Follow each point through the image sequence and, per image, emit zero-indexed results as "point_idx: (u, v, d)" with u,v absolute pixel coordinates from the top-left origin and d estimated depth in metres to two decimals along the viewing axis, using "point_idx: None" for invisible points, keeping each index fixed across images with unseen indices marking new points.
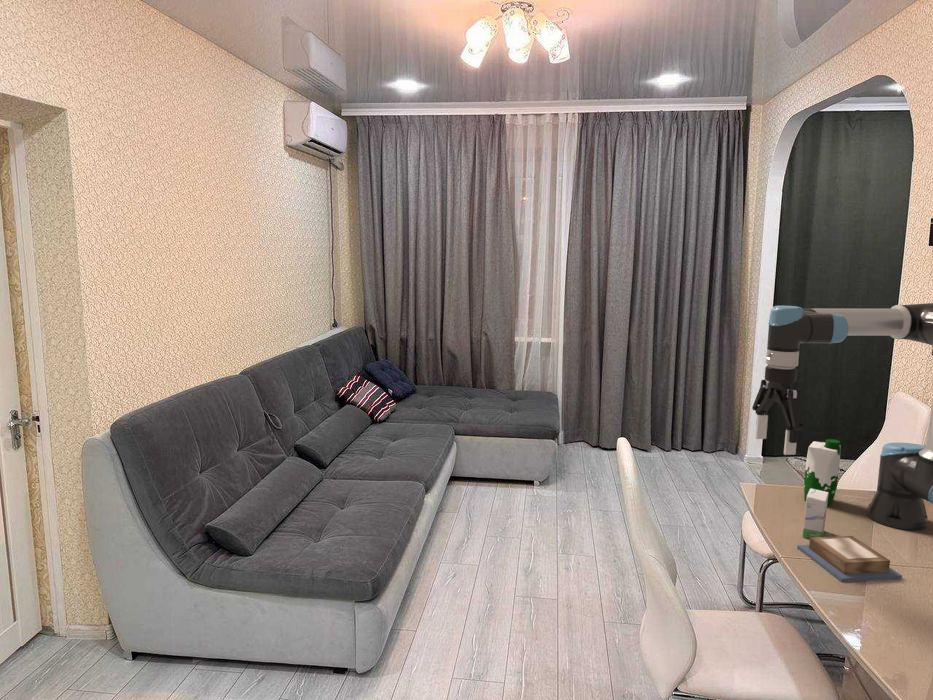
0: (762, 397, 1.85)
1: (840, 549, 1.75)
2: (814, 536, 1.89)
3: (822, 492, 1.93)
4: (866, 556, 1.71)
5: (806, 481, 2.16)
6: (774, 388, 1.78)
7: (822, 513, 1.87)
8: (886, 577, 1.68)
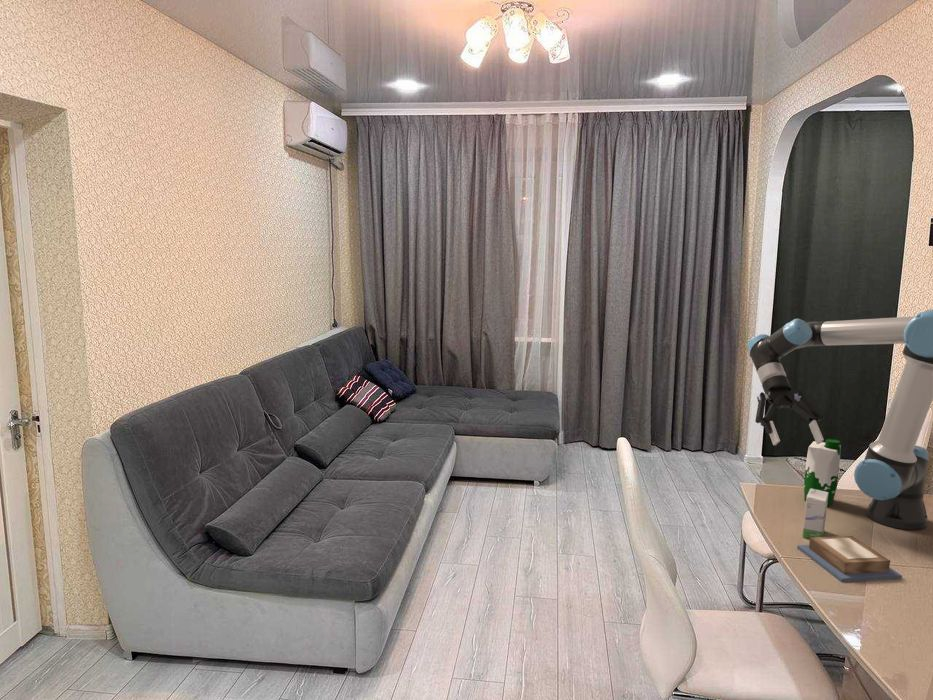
0: (806, 408, 2.07)
1: (840, 549, 1.75)
2: (814, 536, 1.89)
3: (822, 492, 1.93)
4: (866, 556, 1.71)
5: (806, 481, 2.16)
6: None
7: (822, 513, 1.87)
8: (886, 577, 1.68)
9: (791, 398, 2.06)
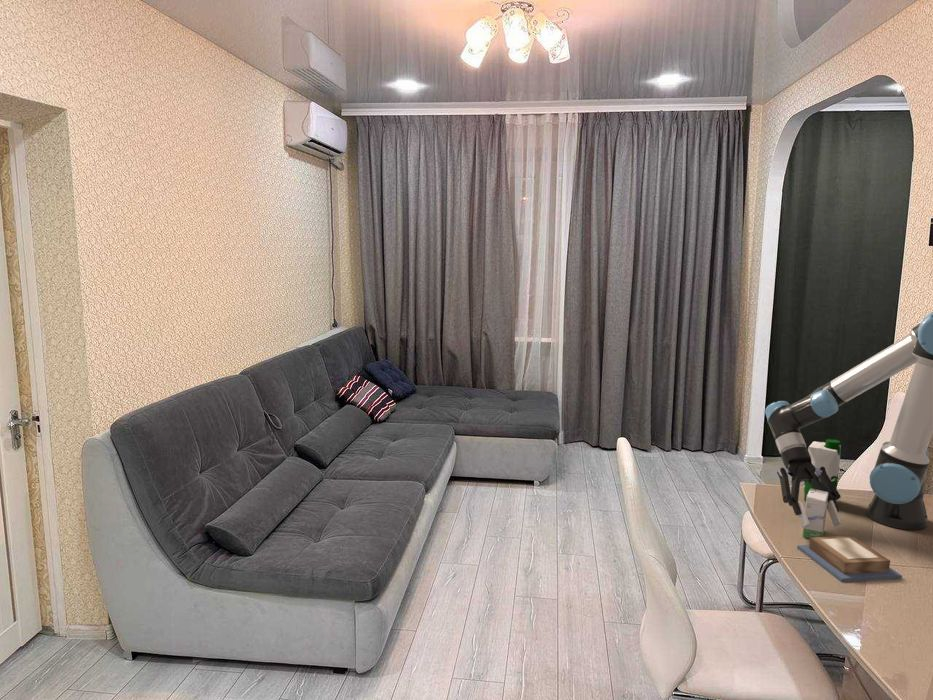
0: (825, 485, 1.97)
1: (840, 549, 1.75)
2: (814, 536, 1.89)
3: (822, 492, 1.93)
4: (866, 556, 1.71)
5: None
6: None
7: (822, 513, 1.87)
8: (886, 577, 1.68)
9: (811, 472, 1.97)
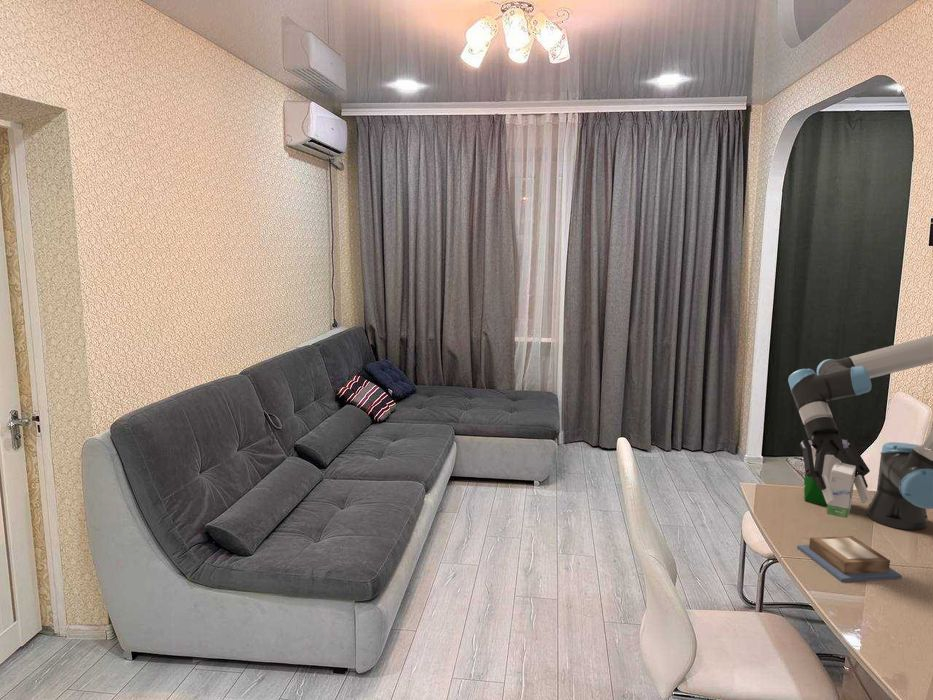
0: (853, 458, 1.81)
1: (840, 549, 1.75)
2: (839, 512, 1.74)
3: (849, 466, 1.77)
4: (866, 556, 1.71)
5: (806, 481, 2.16)
6: None
7: (848, 488, 1.72)
8: (886, 577, 1.68)
9: (837, 444, 1.81)
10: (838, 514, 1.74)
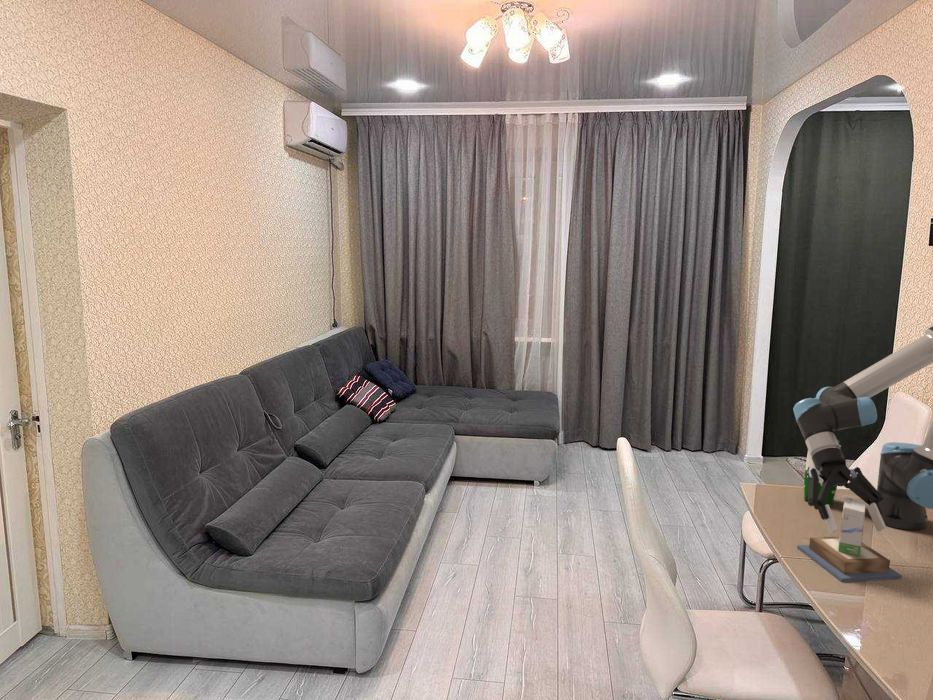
0: (864, 487, 1.80)
1: None
2: (851, 550, 1.72)
3: (859, 502, 1.75)
4: (866, 556, 1.71)
5: (806, 481, 2.16)
6: None
7: (861, 525, 1.70)
8: (886, 577, 1.68)
9: (847, 475, 1.79)
10: (850, 552, 1.72)
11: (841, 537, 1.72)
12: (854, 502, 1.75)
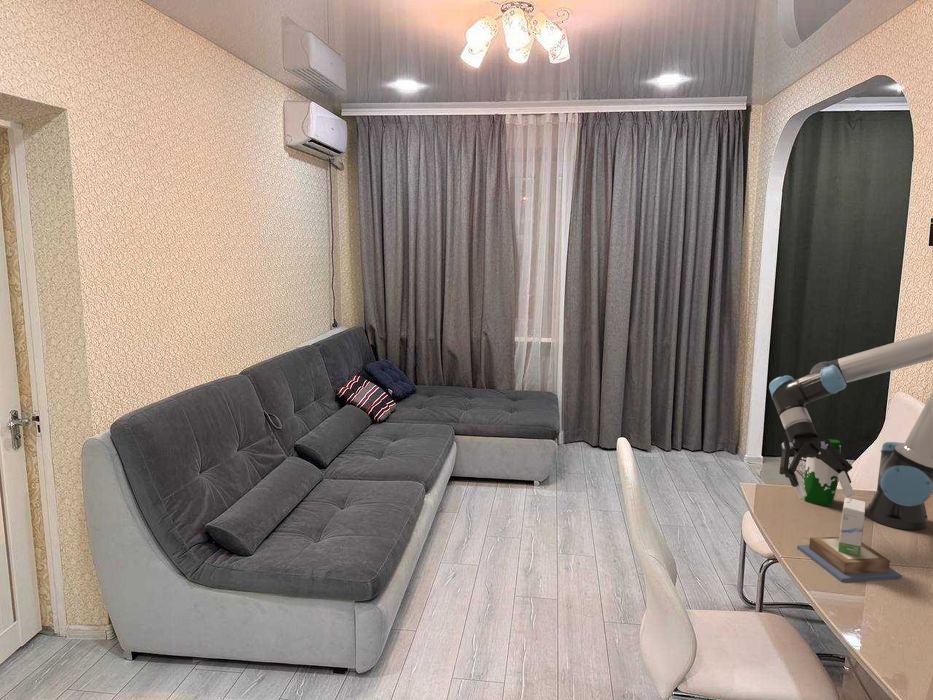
0: (834, 457, 1.92)
1: None
2: (851, 550, 1.72)
3: (859, 502, 1.75)
4: (866, 556, 1.71)
5: (806, 481, 2.16)
6: None
7: (861, 525, 1.70)
8: (886, 577, 1.68)
9: (818, 447, 1.91)
10: (850, 552, 1.72)
11: (841, 537, 1.72)
12: (854, 502, 1.75)
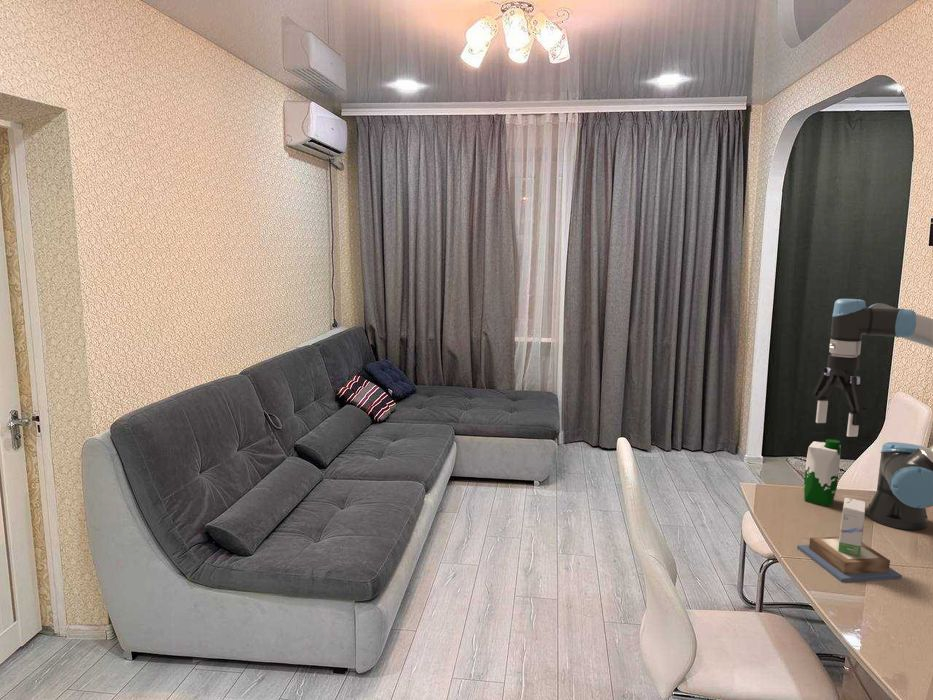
0: (823, 384, 1.99)
1: None
2: (851, 550, 1.72)
3: (859, 502, 1.75)
4: (866, 556, 1.71)
5: (806, 481, 2.16)
6: (836, 375, 1.92)
7: (861, 525, 1.70)
8: (886, 577, 1.68)
9: None
10: (850, 552, 1.72)
11: (841, 537, 1.72)
12: (854, 502, 1.75)
